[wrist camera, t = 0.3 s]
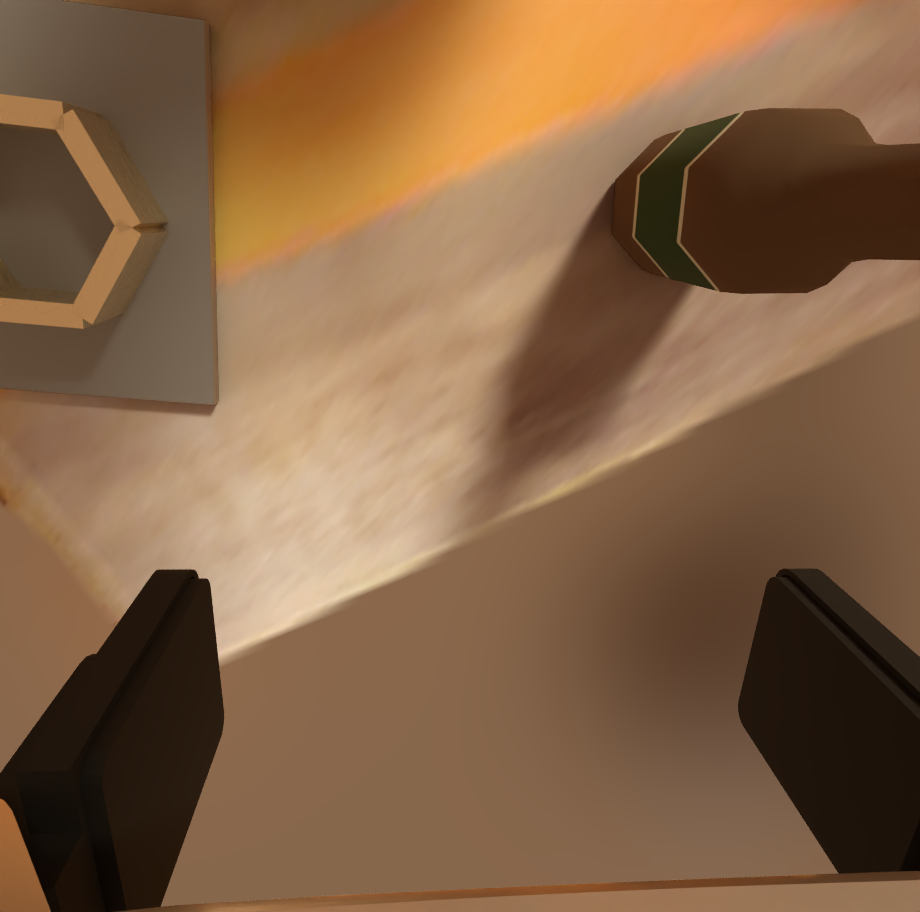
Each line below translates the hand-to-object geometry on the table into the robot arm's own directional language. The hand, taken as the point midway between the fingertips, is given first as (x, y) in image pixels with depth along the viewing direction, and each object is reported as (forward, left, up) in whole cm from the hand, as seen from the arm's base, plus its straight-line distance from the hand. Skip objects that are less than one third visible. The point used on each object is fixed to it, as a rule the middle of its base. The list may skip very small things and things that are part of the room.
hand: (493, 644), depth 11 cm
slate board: (-4, -21, -31) cm, 37 cm away
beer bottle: (-8, +13, -31) cm, 35 cm away
